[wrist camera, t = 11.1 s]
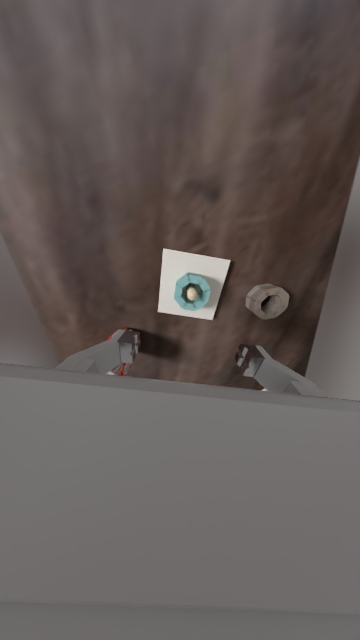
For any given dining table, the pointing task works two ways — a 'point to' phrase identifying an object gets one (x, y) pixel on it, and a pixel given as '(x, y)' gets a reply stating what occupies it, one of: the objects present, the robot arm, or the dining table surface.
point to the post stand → (181, 264)
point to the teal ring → (201, 298)
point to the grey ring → (273, 306)
